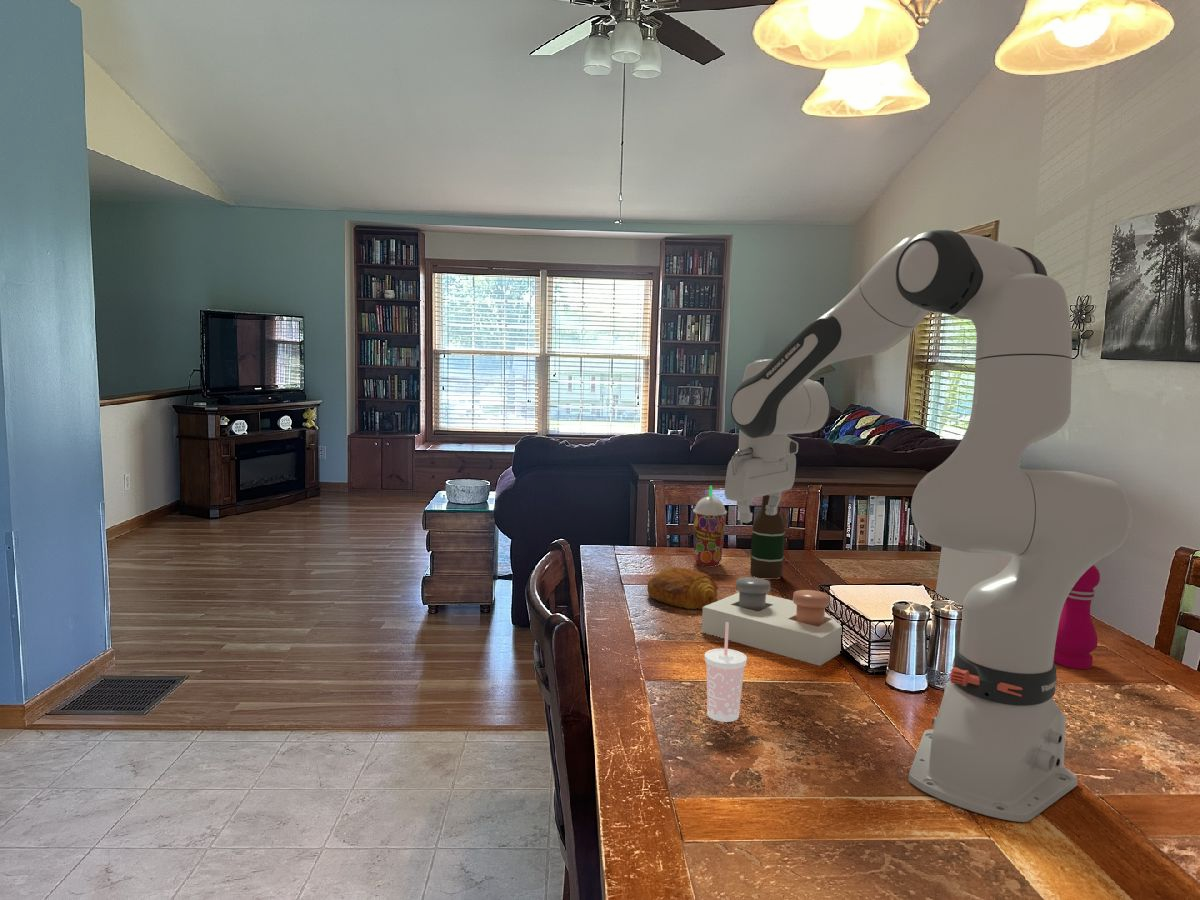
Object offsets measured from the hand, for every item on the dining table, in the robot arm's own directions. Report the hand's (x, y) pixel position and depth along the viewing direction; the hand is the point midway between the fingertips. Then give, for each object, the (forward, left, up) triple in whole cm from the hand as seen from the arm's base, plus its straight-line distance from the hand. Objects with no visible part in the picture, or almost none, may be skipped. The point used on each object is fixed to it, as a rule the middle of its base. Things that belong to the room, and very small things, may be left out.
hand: (758, 518), depth 156 cm
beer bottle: (+37, +17, -22) cm, 46 cm away
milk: (+37, -30, -22) cm, 52 cm away
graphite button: (0, 0, -19) cm, 19 cm away
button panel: (0, -6, -22) cm, 23 cm away
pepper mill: (+25, -50, -22) cm, 60 cm away
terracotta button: (0, -12, -19) cm, 22 cm away
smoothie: (+36, +33, -22) cm, 54 cm away
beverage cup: (-36, -16, -22) cm, 45 cm away
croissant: (+7, +20, -22) cm, 31 cm away
